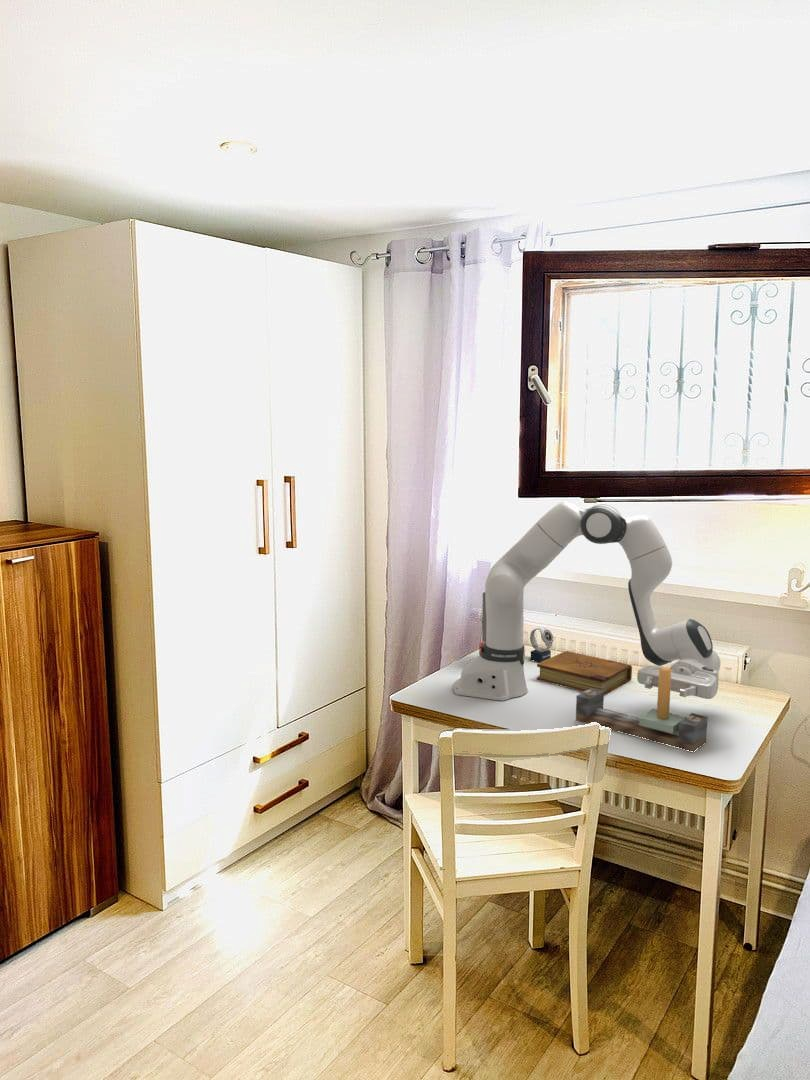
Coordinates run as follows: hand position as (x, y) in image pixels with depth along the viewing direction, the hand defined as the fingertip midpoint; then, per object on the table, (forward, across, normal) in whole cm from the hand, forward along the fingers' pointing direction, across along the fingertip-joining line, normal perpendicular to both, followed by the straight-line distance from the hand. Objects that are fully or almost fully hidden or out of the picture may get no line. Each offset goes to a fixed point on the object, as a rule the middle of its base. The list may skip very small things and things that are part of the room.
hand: (664, 689), depth 212 cm
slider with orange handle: (0, 0, +10) cm, 10 cm away
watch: (-36, -59, +13) cm, 70 cm away
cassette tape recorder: (-24, -67, +13) cm, 73 cm away
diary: (-27, -38, +14) cm, 48 cm away
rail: (0, -7, +13) cm, 15 cm away
